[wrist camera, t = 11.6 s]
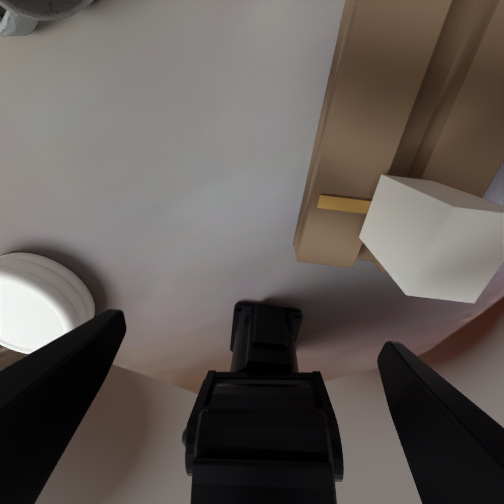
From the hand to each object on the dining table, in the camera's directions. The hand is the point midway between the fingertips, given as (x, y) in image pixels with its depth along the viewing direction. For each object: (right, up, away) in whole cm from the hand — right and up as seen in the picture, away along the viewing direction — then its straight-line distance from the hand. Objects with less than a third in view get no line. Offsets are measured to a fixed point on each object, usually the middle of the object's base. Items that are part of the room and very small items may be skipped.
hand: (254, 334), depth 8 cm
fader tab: (+9, +6, +8) cm, 13 cm away
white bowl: (-20, -1, +16) cm, 26 cm away
